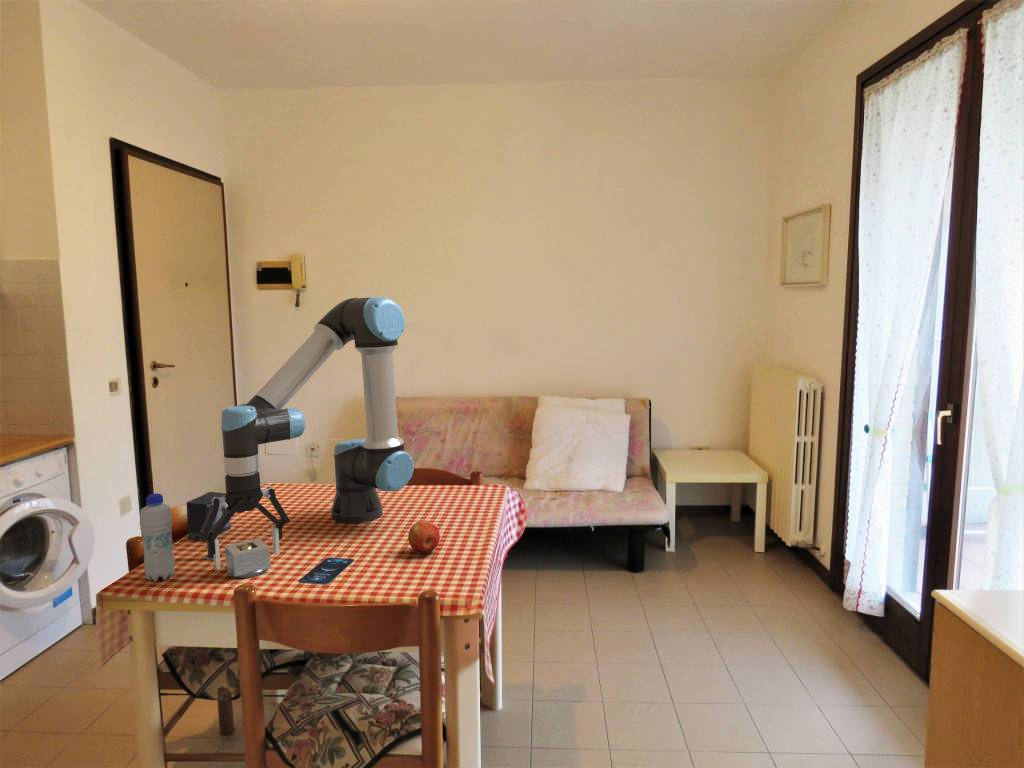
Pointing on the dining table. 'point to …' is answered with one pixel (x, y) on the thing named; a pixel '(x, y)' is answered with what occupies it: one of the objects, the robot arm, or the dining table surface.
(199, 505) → the small box
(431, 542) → the apple
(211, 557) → the stand rod
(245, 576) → the round stand base
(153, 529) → the bottle
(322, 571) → the smartphone
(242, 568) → the grey hollow block
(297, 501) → the dining table surface
